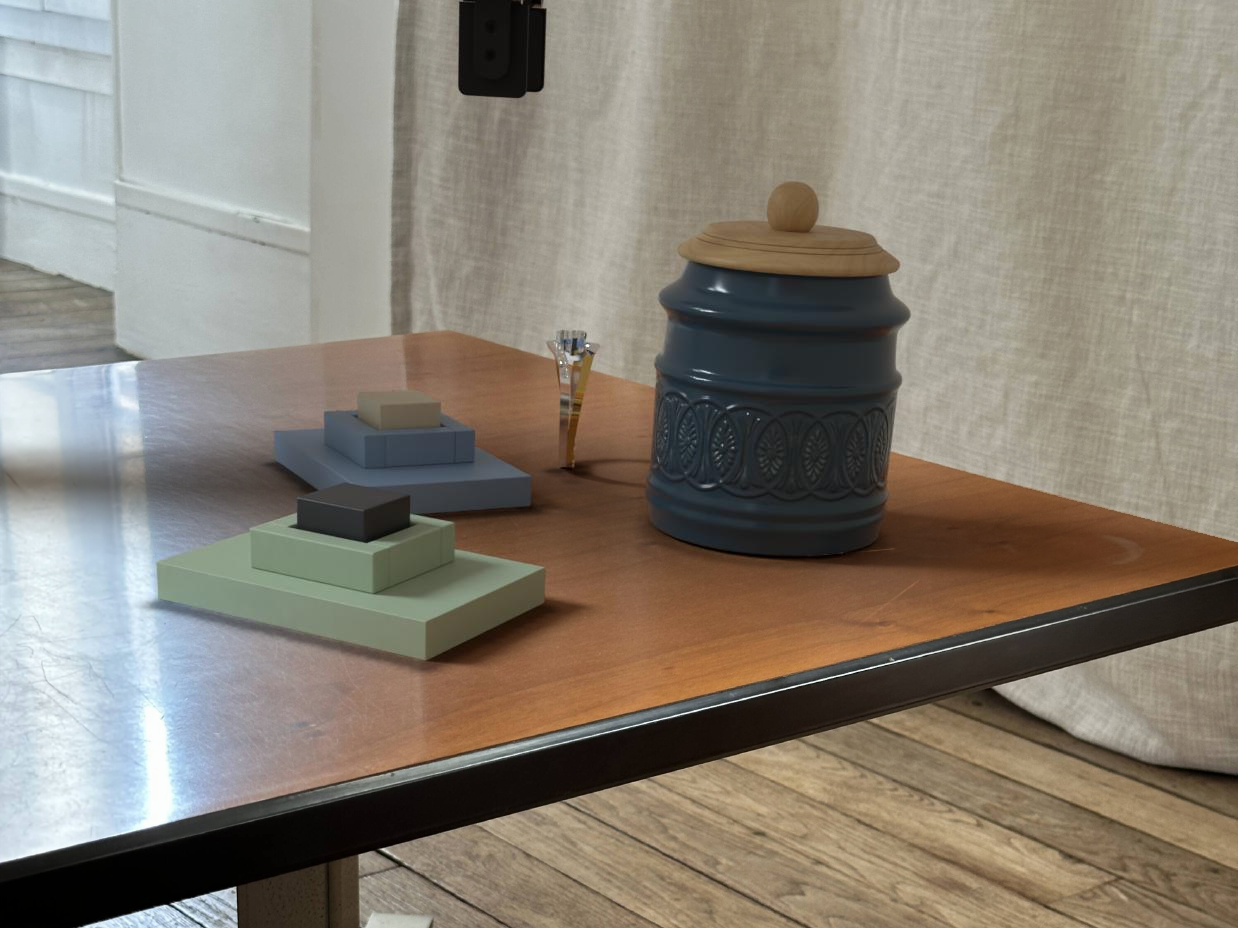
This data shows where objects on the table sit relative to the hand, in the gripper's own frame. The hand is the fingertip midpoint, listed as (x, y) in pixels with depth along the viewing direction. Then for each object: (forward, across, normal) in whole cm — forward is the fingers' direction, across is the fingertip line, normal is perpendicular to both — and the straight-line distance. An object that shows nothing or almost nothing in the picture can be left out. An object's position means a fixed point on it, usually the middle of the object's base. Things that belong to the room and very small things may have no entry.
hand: (503, 93), depth 87 cm
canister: (+21, +1, +15) cm, 26 cm away
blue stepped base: (+21, -4, -6) cm, 22 cm away
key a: (+18, +19, -4) cm, 26 cm away
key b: (+18, -4, -6) cm, 19 cm away
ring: (+21, -10, +3) cm, 24 cm away
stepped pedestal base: (+21, +19, -4) cm, 28 cm away
